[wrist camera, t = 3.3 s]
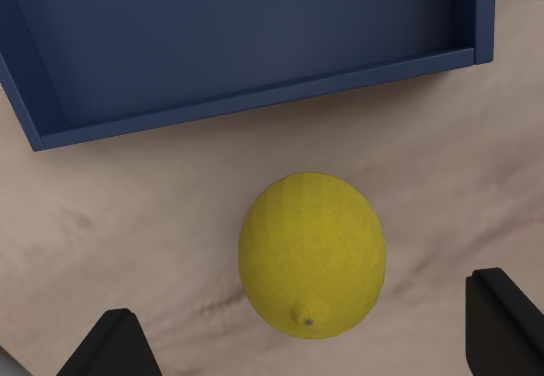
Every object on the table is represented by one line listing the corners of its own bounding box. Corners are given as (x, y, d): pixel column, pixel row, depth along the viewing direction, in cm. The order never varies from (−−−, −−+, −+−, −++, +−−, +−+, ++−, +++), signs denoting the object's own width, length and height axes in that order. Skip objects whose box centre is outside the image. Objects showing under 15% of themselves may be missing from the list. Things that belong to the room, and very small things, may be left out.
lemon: (331, 127, 15) (349, 200, 8) (386, 220, 17) (446, 355, 9) (234, 185, 17) (175, 291, 10) (293, 265, 18) (280, 411, 11)
